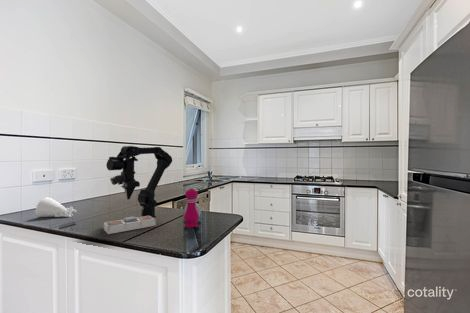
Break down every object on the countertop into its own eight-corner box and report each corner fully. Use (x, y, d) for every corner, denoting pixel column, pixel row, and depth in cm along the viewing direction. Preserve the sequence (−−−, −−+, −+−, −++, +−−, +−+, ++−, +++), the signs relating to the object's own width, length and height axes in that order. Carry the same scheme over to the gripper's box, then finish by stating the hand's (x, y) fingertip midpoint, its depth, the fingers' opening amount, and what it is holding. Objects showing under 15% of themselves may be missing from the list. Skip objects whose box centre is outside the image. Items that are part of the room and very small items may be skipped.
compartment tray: (149, 221, 127) (149, 215, 127) (155, 225, 120) (155, 218, 120) (103, 229, 113) (103, 222, 113) (108, 234, 106) (108, 226, 106)
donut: (201, 220, 130) (201, 201, 130) (198, 222, 126) (198, 203, 127) (186, 218, 133) (186, 200, 134) (182, 220, 130) (182, 201, 130)
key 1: (118, 225, 115) (118, 221, 115) (121, 227, 112) (121, 223, 112) (108, 226, 112) (108, 222, 112) (110, 229, 109) (110, 224, 109)
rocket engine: (77, 199, 139) (48, 193, 140) (64, 216, 130) (32, 208, 131) (82, 211, 147) (54, 205, 147) (70, 227, 138) (40, 221, 138)
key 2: (147, 220, 124) (148, 216, 124) (151, 222, 121) (151, 218, 121) (138, 221, 121) (138, 217, 121) (141, 223, 118) (141, 219, 118)
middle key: (133, 220, 120) (133, 216, 120) (136, 222, 116) (136, 218, 116) (124, 221, 117) (124, 217, 117) (126, 223, 113) (126, 219, 113)
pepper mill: (184, 224, 122) (185, 185, 122) (199, 224, 122) (199, 184, 122) (183, 228, 114) (183, 186, 115) (198, 228, 115) (198, 186, 115)
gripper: (107, 169, 129) (107, 198, 129) (116, 171, 114) (116, 203, 114) (129, 168, 136) (129, 196, 136) (140, 170, 121) (140, 201, 121)
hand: (128, 199), depth 126 cm, fingers closed
